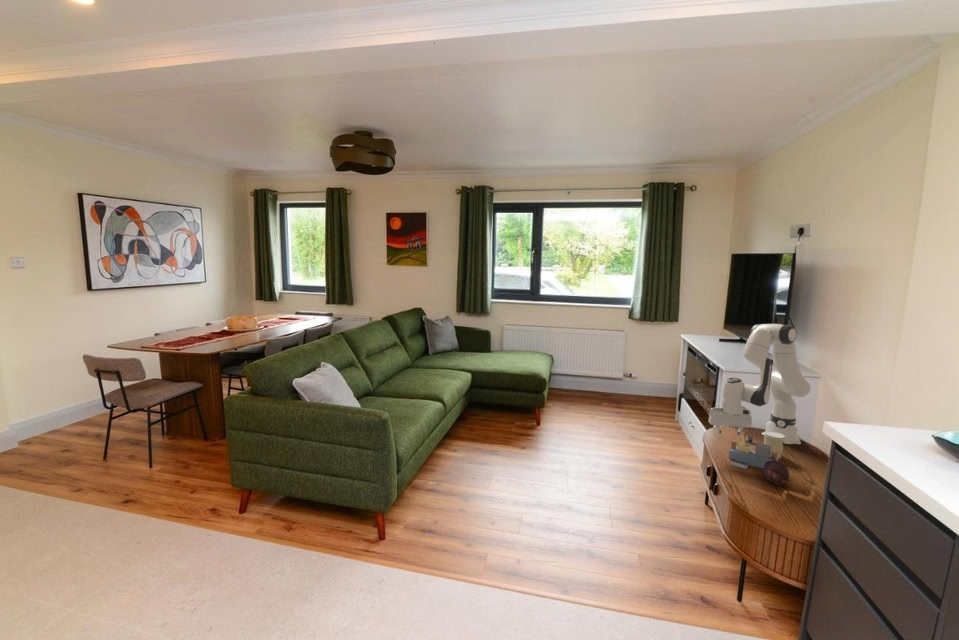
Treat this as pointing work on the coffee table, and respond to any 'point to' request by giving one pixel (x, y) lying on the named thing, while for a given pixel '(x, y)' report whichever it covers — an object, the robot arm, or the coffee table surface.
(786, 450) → the coffee table surface
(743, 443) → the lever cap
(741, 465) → the mat
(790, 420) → the robot arm
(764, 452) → the plane body
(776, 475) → the pine cone
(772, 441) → the coffee cup
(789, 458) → the coffee table surface
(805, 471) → the coffee table surface
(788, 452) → the coffee table surface
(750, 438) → the ball-knob lever
